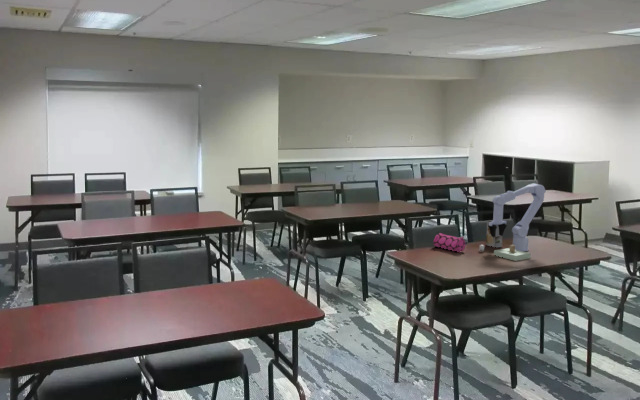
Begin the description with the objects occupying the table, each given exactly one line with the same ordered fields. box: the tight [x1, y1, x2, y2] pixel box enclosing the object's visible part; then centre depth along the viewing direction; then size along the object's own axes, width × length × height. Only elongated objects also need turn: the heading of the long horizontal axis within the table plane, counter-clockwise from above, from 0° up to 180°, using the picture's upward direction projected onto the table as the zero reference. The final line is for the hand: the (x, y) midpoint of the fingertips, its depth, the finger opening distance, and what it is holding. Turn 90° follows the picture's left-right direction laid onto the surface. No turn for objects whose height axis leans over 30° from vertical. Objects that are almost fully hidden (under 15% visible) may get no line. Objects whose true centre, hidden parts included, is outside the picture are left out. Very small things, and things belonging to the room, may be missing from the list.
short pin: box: [478, 244, 486, 252], centre depth 356 cm, size 3×3×4 cm
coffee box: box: [485, 220, 503, 248], centre depth 372 cm, size 9×6×16 cm
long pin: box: [509, 244, 515, 253], centre depth 343 cm, size 3×3×7 cm
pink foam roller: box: [432, 232, 468, 253], centre depth 360 cm, size 21×10×10 cm, turn 39°
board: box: [493, 247, 532, 261], centre depth 343 cm, size 14×16×3 cm
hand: (496, 236), depth 358 cm, fingers open, 7 cm apart
